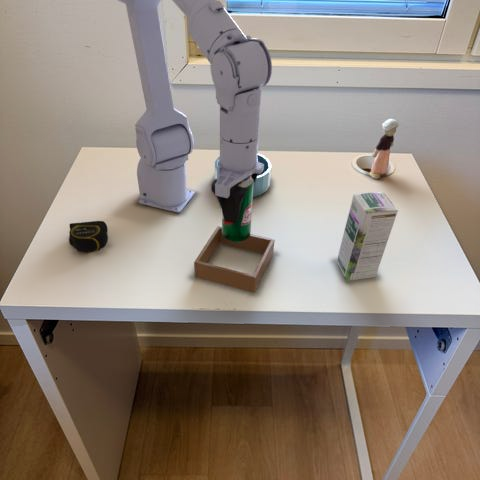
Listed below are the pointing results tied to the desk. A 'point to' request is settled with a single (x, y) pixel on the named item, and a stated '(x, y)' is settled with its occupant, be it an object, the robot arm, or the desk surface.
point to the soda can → (241, 216)
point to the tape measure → (88, 236)
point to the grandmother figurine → (383, 149)
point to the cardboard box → (228, 275)
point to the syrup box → (366, 235)
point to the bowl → (262, 178)
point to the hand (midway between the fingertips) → (236, 212)
